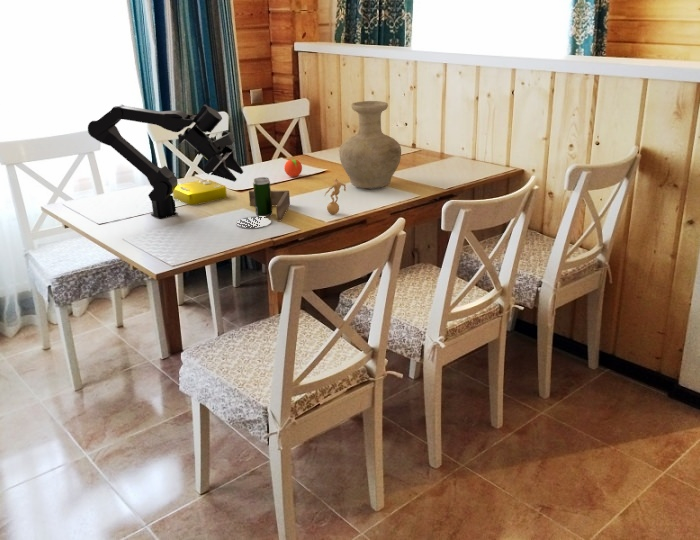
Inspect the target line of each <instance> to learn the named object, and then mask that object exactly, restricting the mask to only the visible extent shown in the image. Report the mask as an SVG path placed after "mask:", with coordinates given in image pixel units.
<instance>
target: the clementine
mask: <svg viewBox="0 0 700 540" xmlns="http://www.w3.org/2000/svg"><path fill="white" fill-rule="evenodd" d="M302 165H303V164H302V162H300V161H299V160H298V159H296V158H291V159H289V160H287V161H286V162H285V164H284V172H285V174H286V175H287V176H289V177H291V178H295V177H298V176H299V175H301V173H302V170H303V166H302Z"/></svg>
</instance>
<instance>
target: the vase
mask: <svg viewBox="0 0 700 540" xmlns="http://www.w3.org/2000/svg"><path fill="white" fill-rule="evenodd" d="M350 106H351V109H352V110H353V111H354V112H356V113H357V115H358V131H357V133H356V134H354V135H353V136H350V137H348V138H347V139H346V140H344V141H343V142H342V144H341V145H340V146H339V154H338V156H339V160H340V163H341V166H342V168H343V170H344V171H345V173H346V175H347V176H348V179H349V180H350V183H351V185H352V186H354V187H356V188H362V189H379V188H384V187H387V186H388V185H390V183H391V181H392V177H393V176H394V174H395V172H396V170H397V169H398V167H399V165H400V162H401V157H402V148H401V145H400V143H399V142H398V140H397V139H395V138H393V137H391V136H389V135H387V134H385V133H384V132H383V130H382V120H381V119H382V113H383V112H385V111H386V110H387V109H388V107H389V105H388V103H387V102H385V101H380V100H379V101H378V100H363V101H357V102H353V103H351V105H350Z"/></svg>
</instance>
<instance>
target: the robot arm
mask: <svg viewBox="0 0 700 540" xmlns="http://www.w3.org/2000/svg"><path fill="white" fill-rule="evenodd" d="M122 120H126V121H132V122H137V123H143V124H150V125H155V126H159V127H160V128H162V129H164V130H166V131H170V132H172V133H179V132H181V131H183V130H184V129H185V130H184V131H183V133H179V134H177V137H178V138H177V139H178V144H182V143H183V142H184V141H186V142H187V143H188V144H189V145H190V146H191V147H192V148H194V149H195V150H196V151H197V152H196V154H197V155H198V156H200V155H201V156H202V157H204V158H205V160H207V161H206V162H205V164H204V165H203V172H205V173H206V174H207V175H210V176H215V177H219V178H222V179H226V180H229V181H231V182H236V181H237V180H238V178H237V177H236V176H235V175H234V174H233V172H236V173H238V174H240V175H242V174H243V173H244V170H243V169H242V167H241V165H240V164H239V162H238V161H237V159H236V157H235V152H236V151H235V147H234V146H233V144H234V142H236V139H235V138H234V136H235V135H234V133H232V132H230V131H228V130H224V131H223V132H221V136H219V137H218V138H215V137H212V136H211V137H210V136H208V135H207V132H208V133H212V131H214V130H215V128H217V126H218V124H219V123H221V121H222V120H223V117H222V115H221V114H220V112H218V111H217V110H216V109H214V108H213V107H210V106H208V105H207V104H203V106H202V107H201V108H200V110H199V111H198V113H197V114H188V113H187V112H185V111H183V110H164V111H163V110H162V111H160V110H152V109H146V108H142V107H141V108H139V107H135V106H127V105H124V104H117V105H115V106H113V107H112V108H111V110H110V111H108V112H106V113H105V114H104V115H102V116H100V117H98V118H96V119H94V120H92V121H90V122H89V123H88V125H87V133H88V135H90V137H92V138H93V139H95V140H96V141H97V142H99V143H101V144H103V145H106V146H109V147H111V148H112V149H114V151H115V152H117V153H118V154H119V155H120V156H121V157H123V158H124V159H125V160H126V161H127V162H129V163H130V164H131V165H132V166H133V167H135V169H137V171H139V172H140V173H141V174H143V175H144V176H145V178H146V179H147V181H148V183H149V185H150V186H151V187H152V190H151V191H150V192H149V193H148V198H149V200H150V201H151V206H152V213H150V215H151V216H153V217H155V218H157V219H160V220H162V219H167V218H171V217H175V216H177V215H178V212H177V209H176V199H175V198H174V197H173V190H174V189H175V188H176V187H177V185H179V184H178V183H179V182H178V178H177V177H176V173H175V172H173V171H172V170H170V169H169V168H168V167H167V166H166V165H164V166H162V167H160V166H157V165H155V164H154V163H153V162H152V161H151V160H150V159H148V157H146V156H145V155H144V154H143V153H142V152H140V151H139V150H138V149H137V148H136V147H135V146H134V145H132V144H131V143H130V142H129V141H128V140H127V139H125V138H124V137H123V136H122V134H121V133H120V130H119V129H118V127H117V126H116V125H117V124H118V123H119V122H120V121H122ZM193 124H194V125H193ZM191 125H193V126H192V127H191ZM231 170H232V171H233V172H232V171H231Z"/></svg>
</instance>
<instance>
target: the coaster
mask: <svg viewBox="0 0 700 540" xmlns="http://www.w3.org/2000/svg"><path fill="white" fill-rule="evenodd" d="M248 217H249V216H247V217H243V218H240V219H239V220H240V223H241V222H242V223H245V224H247V225H245V224H240V223H237V222H236V223H237V224H239V225H241V227H242V225H243V226H245V227H246V226H247V227H246V228H250V227H251V226H252V227H251V228H255V227H257V226H258V224H256V225H257V226H254V227H253V225H251V224H250V223H251V221H250V220H249V219H248ZM250 217H251V219H252V218H253V221H254V220H255V222H256V221H257V220H256V219H255V218H256V217H258V219H259V218H260V220H261V218H262V217H259V216H257V215H256V216H250ZM264 218H265V217H264ZM266 218H268V217H266ZM241 219H246V221H247V220H248V222H250V223H247V222H245V221H242V220H241ZM239 220H237V221H239ZM257 223H258V221H257ZM259 223H260V222H259ZM237 224H236V225H237ZM248 224H249V225H250V226H248ZM252 224H253V222H252ZM254 224H255V223H254ZM259 226H260V225H259Z"/></svg>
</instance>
